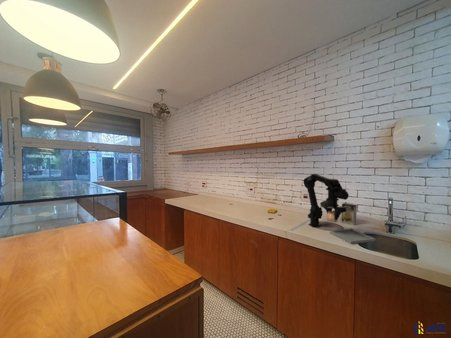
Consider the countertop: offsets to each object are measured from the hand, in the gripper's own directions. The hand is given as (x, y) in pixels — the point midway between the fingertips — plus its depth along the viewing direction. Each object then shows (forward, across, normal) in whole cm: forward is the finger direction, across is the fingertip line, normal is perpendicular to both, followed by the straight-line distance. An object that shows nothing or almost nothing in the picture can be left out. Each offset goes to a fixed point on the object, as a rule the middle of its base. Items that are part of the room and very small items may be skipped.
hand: (332, 218), depth 130 cm
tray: (+11, +6, +9) cm, 16 cm away
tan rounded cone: (+1, 0, 0) cm, 1 cm away
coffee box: (+11, -19, +30) cm, 38 cm away
